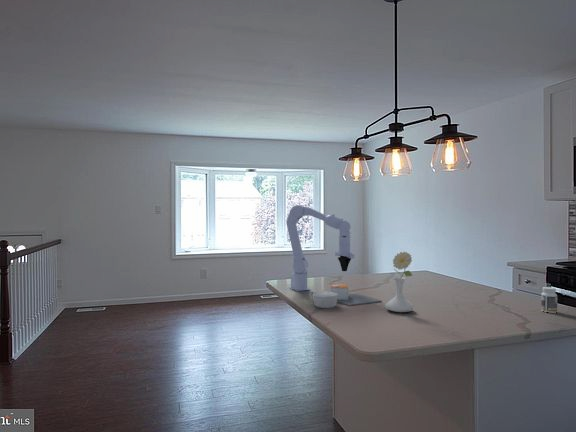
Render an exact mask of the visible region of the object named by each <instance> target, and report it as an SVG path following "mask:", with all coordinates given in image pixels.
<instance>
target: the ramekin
mask: <svg viewBox="0 0 576 432" xmlns="http://www.w3.org/2000/svg"><path fill="white" fill-rule="evenodd" d="M337 297H338V294H337V293H334V292H331V291H325V290H322V291H315V292H313V293H312V299H313V305H314V307H316V308H321V309H332V308H333V309H334V308H335V307H336V306H337V303H338V302H337Z"/></svg>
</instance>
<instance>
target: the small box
mask: <svg viewBox="0 0 576 432" xmlns="http://www.w3.org/2000/svg"><path fill="white" fill-rule="evenodd" d="M330 292H334V293H337V294H338V297H337V300H348V294H349V283H347V284H346V283H343V284H342V283H331V286H330Z"/></svg>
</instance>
